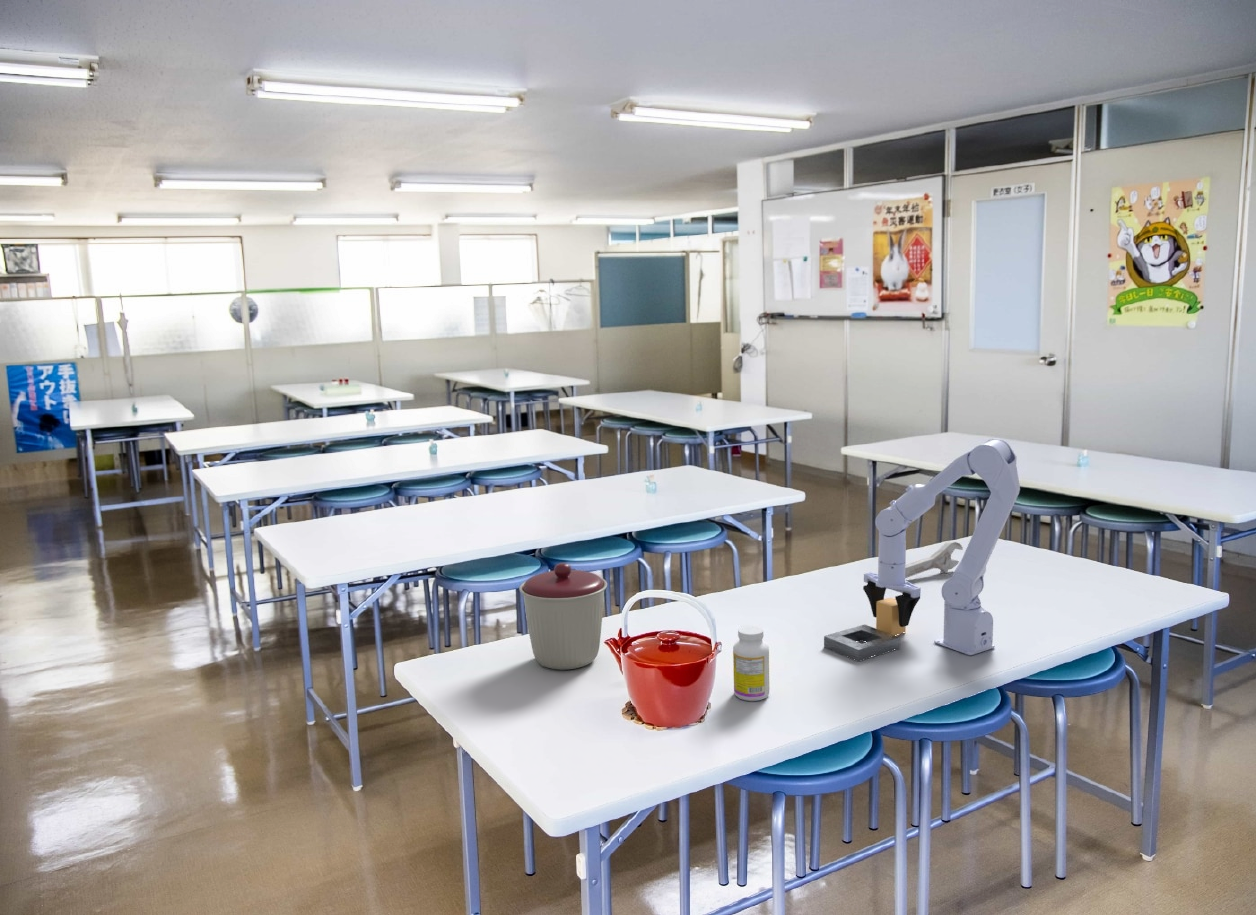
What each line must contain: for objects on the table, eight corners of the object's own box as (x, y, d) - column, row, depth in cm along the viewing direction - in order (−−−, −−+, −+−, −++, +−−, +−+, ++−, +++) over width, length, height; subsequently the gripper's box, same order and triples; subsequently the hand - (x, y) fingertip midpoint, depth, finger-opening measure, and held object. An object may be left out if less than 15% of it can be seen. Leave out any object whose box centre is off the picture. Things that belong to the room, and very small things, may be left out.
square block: (905, 633, 210) (906, 602, 208) (891, 637, 207) (891, 606, 206) (890, 627, 213) (890, 597, 212) (876, 631, 211) (876, 601, 210)
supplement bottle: (746, 685, 184) (745, 621, 182) (775, 693, 180) (775, 628, 178) (726, 696, 179) (726, 631, 177) (757, 705, 175) (756, 638, 173)
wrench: (871, 597, 244) (959, 566, 256) (876, 599, 243) (964, 568, 255) (869, 567, 242) (957, 538, 255) (874, 569, 241) (962, 539, 253)
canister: (593, 640, 211) (589, 547, 207) (622, 668, 194) (619, 568, 191) (513, 653, 205) (508, 558, 201) (536, 684, 188) (531, 580, 184)
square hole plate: (899, 648, 200) (899, 637, 200) (858, 661, 194) (858, 649, 194) (864, 635, 209) (864, 624, 208) (824, 647, 203) (824, 636, 202)
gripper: (854, 556, 212) (853, 615, 214) (904, 571, 199) (903, 633, 202) (876, 551, 215) (875, 609, 218) (928, 566, 203) (926, 627, 205)
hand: (890, 620), depth 210 cm, fingers open, 7 cm apart
